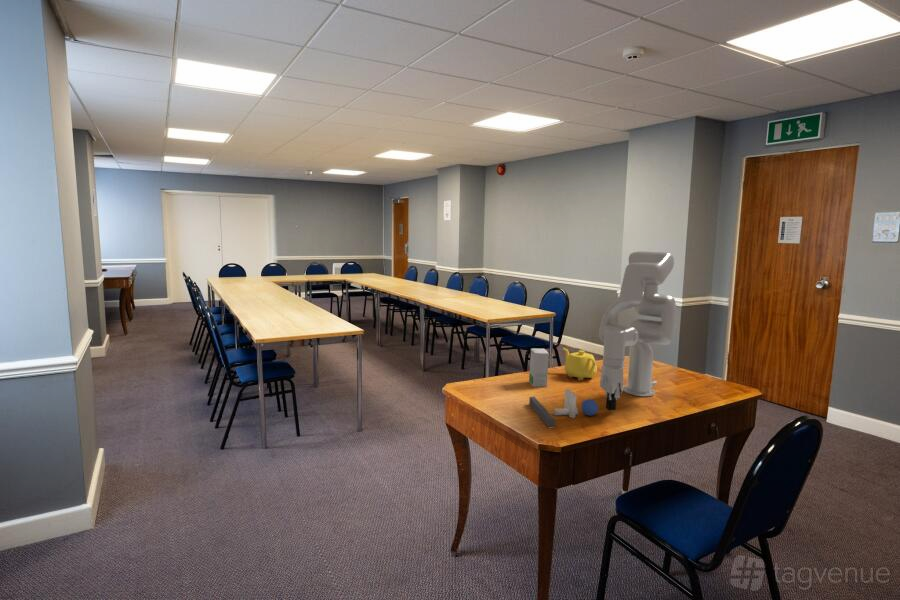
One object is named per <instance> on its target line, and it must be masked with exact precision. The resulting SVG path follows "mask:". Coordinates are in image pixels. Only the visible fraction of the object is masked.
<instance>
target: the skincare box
mask: <svg viewBox="0 0 900 600" xmlns="http://www.w3.org/2000/svg"><path fill="white" fill-rule="evenodd" d="M529 359H530V360H529V376H528V378H529V379H528V382H529V383H530V385H531V386H532V387H533V388H547V387H548V386H547V385H548V374H549V373H548V371H549V361H550V360H549V359H550V353H549V352H548V351H547V350H546V349H545V348H535V347H534V348H530V358H529Z"/></svg>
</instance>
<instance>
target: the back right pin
mask: <svg viewBox="0 0 900 600" xmlns="http://www.w3.org/2000/svg"><path fill="white" fill-rule="evenodd" d="M571 393H572V389H568V388H567V389H566V388H565V389H564V406H563V408H569V400H570V394H571Z"/></svg>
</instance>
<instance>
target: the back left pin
mask: <svg viewBox="0 0 900 600" xmlns="http://www.w3.org/2000/svg"><path fill="white" fill-rule="evenodd" d="M576 408H577V394H576V393H572V392H571V394H570V400H569V415H568V417H569V418H570V417H571V419H576V417H577V416H576Z"/></svg>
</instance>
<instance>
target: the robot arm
mask: <svg viewBox="0 0 900 600" xmlns="http://www.w3.org/2000/svg"><path fill="white" fill-rule="evenodd" d="M674 264H675V258H674V256H673V254H672V253H670V252H664V251H662V252H661V251H635V252H632V253H630V254H629V255H628V264H627V265H626V267H625V270H624V273H623V277H622V278H623V279H622V282H621V287H620V292H619V296H618V298H617V299H616V300H615V301H614V302H612V303H611V304H610V305H609V306H608V307H607V308H606V310H605V311H604V312H603V315H602V317H601V323H600V326H599V331H598V332H599V333H598V336H599V339H600V341H601V342H603V351H602V352H603V353H602V354H603V356H602V366H601V371H600V372H601V373H600V381H599V386H600V388H601V389H602V390H604V391H605V398H606V401H605V408H606V410H608V411H616V409H617V400H618V399H620V398H621V394H623V392H624V393H625V394H629V395H632V396H636V397H652V396H654V395H655V394H656V390H654V389H653V387H654V386H657V385H658V382H657V381H656V380H653V379H652V377H653V368H654V367H653V365H654V364H653V363H654V362H653V361H654V351H653V348H652V347H651V345H650V344H656V345H663V346H664V345H666V346H667V345H670V344H671V343H672V341H673V339H674V332H675V324H676V323H675V322H676V314H677V313H676V309H677V304H676V300H675V298H674V297H673V296H671V295H668V294H659V293H658V290H659V286H660V285H662V284H664V283H665V281H666V280H667V278H668V277H669V275H670V274H671V272H672V271H673V268H674V266H675V265H674ZM632 308H634V312H635V313H636V315H639V316H644V317H651V318H659V319H660V320H656V319H655V320H654V319H646V318H636V319H633V320H631V321H630V322H629V324H628V325H622V324H612V321H613V319H614V318H615V317H616V315H618V314H619V313H621V312H623V311H625V310H629V309H632ZM627 347H629V353H628V365H627V366H628V370H627V371H628V372H627V383H626V384H627V385H625V386H624V367H625V357H626V355H625V352H626V348H627ZM652 380H653V381H652Z"/></svg>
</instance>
